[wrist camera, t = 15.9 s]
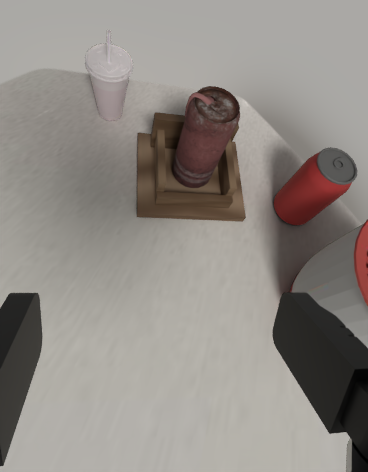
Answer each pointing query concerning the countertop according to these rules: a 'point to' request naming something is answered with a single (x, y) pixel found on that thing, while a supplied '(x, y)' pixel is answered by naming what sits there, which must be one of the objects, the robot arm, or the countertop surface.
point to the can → (204, 135)
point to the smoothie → (109, 77)
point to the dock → (175, 194)
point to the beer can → (315, 186)
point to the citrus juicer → (340, 280)
